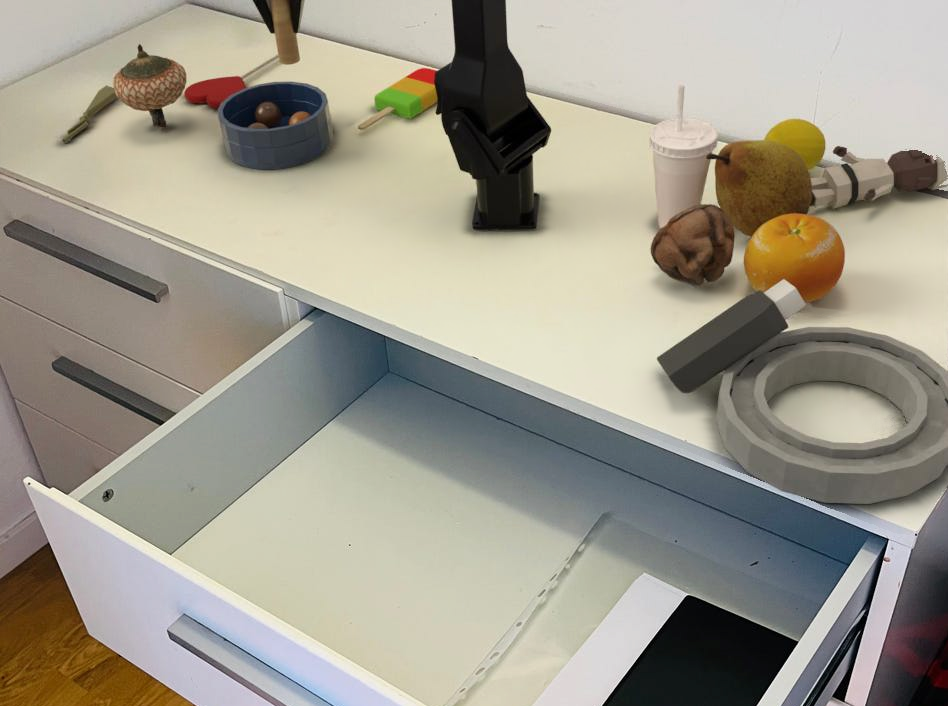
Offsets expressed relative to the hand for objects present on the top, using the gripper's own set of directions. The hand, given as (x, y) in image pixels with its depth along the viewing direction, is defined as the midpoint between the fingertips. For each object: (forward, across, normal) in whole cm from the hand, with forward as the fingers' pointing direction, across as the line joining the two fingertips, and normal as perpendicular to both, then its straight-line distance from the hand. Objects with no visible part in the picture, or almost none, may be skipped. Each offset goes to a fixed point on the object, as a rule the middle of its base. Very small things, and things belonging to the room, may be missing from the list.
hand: (285, 31), depth 122 cm
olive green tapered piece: (+14, -28, +9) cm, 32 cm away
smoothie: (+13, +41, -17) cm, 46 cm away
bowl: (+13, -3, +2) cm, 14 cm away
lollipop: (+14, -11, +18) cm, 25 cm away
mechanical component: (+12, +52, -47) cm, 71 cm away
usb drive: (+7, +43, -41) cm, 60 cm away
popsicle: (+14, +10, +10) cm, 19 cm away
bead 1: (+11, -5, +4) cm, 13 cm away
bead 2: (+11, -5, -1) cm, 12 cm away
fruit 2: (+12, +51, -17) cm, 55 cm away
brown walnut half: (+10, +43, -29) cm, 53 cm away
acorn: (+14, -18, +6) cm, 24 cm away
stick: (+3, 0, 0) cm, 3 cm away
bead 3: (+11, 0, +2) cm, 11 cm away
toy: (+11, +52, -14) cm, 55 cm away
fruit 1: (+9, +49, -8) cm, 51 cm away
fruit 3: (+12, +50, -29) cm, 59 cm away
